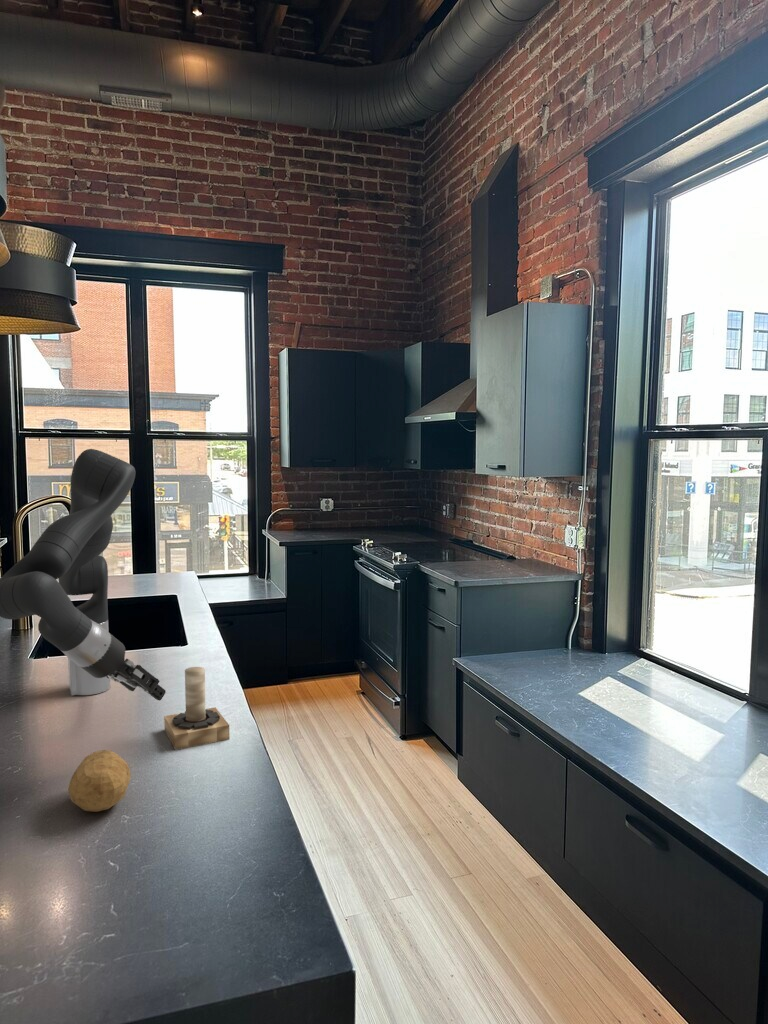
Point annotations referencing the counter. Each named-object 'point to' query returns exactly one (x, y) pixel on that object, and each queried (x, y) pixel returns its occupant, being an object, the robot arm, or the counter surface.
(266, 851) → the counter surface
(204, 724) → the socket
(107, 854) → the counter surface
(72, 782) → the potato
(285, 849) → the counter surface
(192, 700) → the dowel
